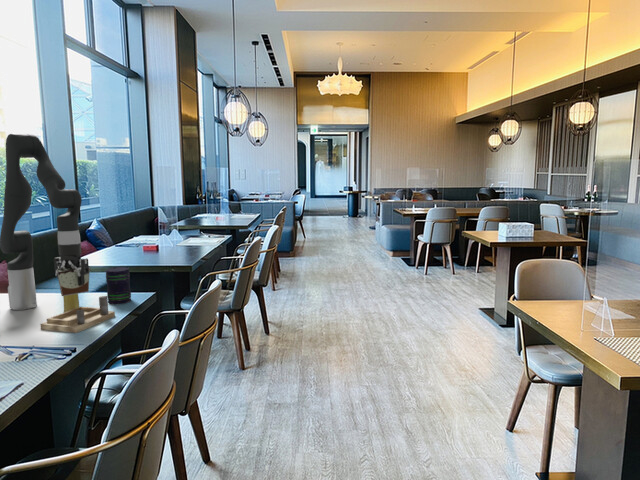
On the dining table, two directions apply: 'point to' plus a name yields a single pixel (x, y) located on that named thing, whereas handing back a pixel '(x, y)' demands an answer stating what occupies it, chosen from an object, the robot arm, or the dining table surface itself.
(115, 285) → the storage jar
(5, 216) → the robot arm
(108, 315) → the carrier board
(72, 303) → the vase
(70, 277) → the half lattice cake
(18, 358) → the dining table surface
